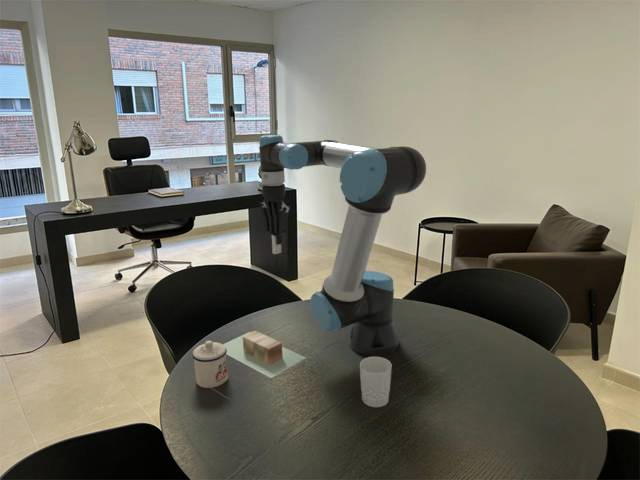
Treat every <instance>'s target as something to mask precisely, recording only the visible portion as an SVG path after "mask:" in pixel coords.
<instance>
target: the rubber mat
mask: <svg viewBox="0 0 640 480" xmlns="http://www.w3.org/2000/svg"><path fill="white" fill-rule="evenodd" d="M251 332H252V331H248V332H247V333H244V334H242V335H240V336H238V337H236V338H233V339H231V340H229V341H227V342H225V343H223V345H224V346H225V347H226V349H227V352H226V356H229V357H230V358H232V359H234V360H235V361H237V362H240V363H242V364H244V365H245V366H248V368H250V369H253V370H255V371H257V372H258V373H260V374H262V375H263V376H266V377H268V378H269V379H270V380H271V381H272V380H273V379H275V378H276V377H278V376H280V375H282V374H283V373H285V372H287V371H288V370H290V369H291V368H293V367H295V366H297V365H300V363H302V362H304V361H306V360H307V357H306V356H304V355H301V354H299V353H297V352H295V351H292V350H290V349H288V348H286V347H284V346H282V355H283V358H281V359H280V360H278V361H276V362H274V363H272V364H271V365H270V364H268V363H266V362H264V361H262V360H260V359H258V358H256V357H254V356H252V355H250V354H248V353H246V352H244V348H243V336H245V335H247V334H249V333H251Z"/></svg>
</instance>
